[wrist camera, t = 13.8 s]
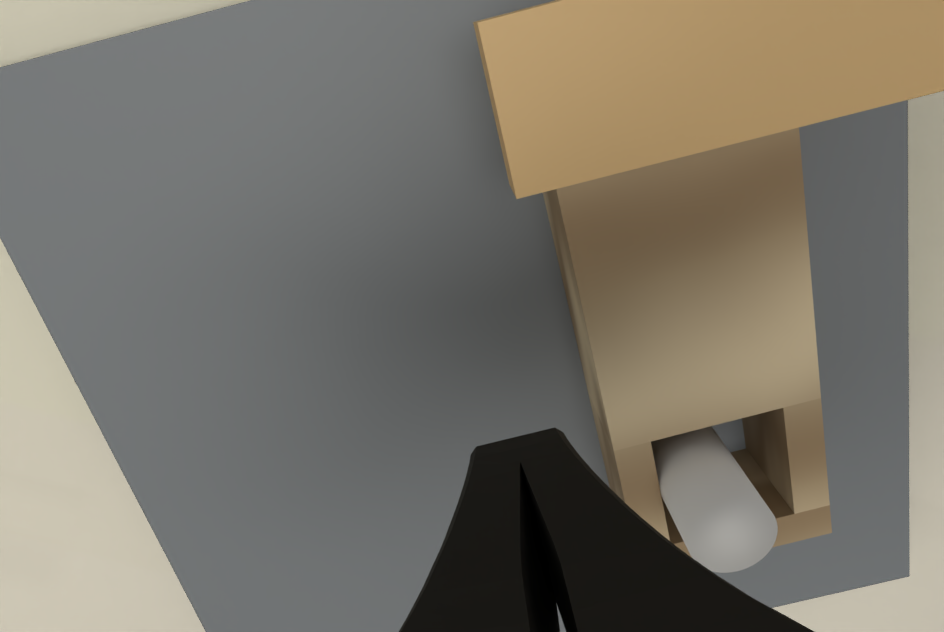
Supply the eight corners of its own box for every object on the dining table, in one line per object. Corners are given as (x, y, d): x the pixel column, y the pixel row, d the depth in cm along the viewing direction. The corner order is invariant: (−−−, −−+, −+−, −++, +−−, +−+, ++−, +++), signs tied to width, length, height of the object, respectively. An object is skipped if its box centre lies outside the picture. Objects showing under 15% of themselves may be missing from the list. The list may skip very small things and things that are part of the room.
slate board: (878, -165, 16) (1116, -259, 11) (891, 554, 24) (1028, 714, 19) (-51, 84, 17) (-282, 117, 11) (261, 700, 25) (214, 894, 20)
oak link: (778, 465, 21) (832, 532, 19) (614, 507, 22) (642, 579, 19) (721, -47, 16) (783, -60, 13) (502, 16, 16) (518, 15, 13)
